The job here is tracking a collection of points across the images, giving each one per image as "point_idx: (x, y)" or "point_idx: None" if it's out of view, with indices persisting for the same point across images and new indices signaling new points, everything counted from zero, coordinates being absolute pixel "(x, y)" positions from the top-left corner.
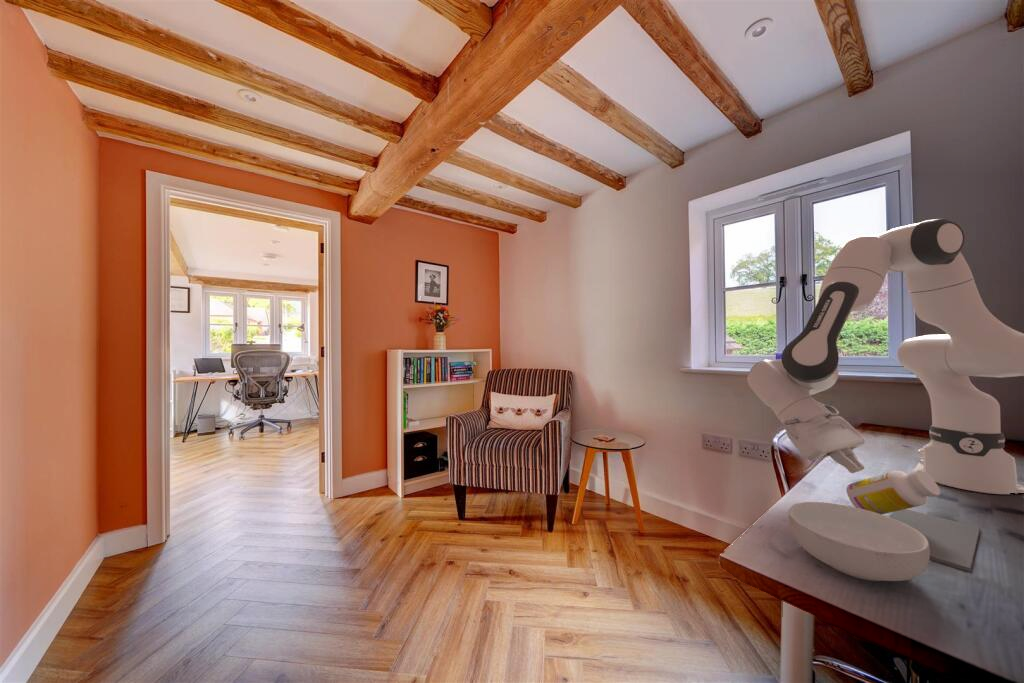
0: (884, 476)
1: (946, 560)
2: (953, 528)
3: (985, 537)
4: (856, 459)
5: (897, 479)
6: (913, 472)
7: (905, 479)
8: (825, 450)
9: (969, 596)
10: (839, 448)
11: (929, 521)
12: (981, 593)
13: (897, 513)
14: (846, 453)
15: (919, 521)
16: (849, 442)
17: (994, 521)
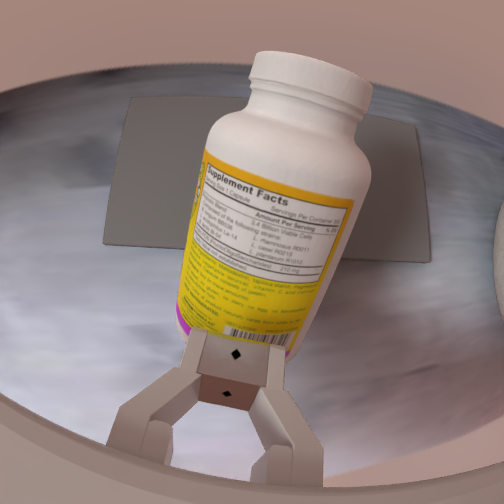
0: (331, 215)
1: (417, 150)
2: (185, 129)
3: (173, 93)
4: (188, 377)
5: (364, 162)
6: (346, 83)
7: (349, 133)
8: (495, 472)
9: (482, 147)
10: (327, 491)
11: (172, 169)
12: (463, 132)
13: (167, 237)
14: (170, 445)
15: (195, 187)
16: (68, 464)
17: (51, 98)
